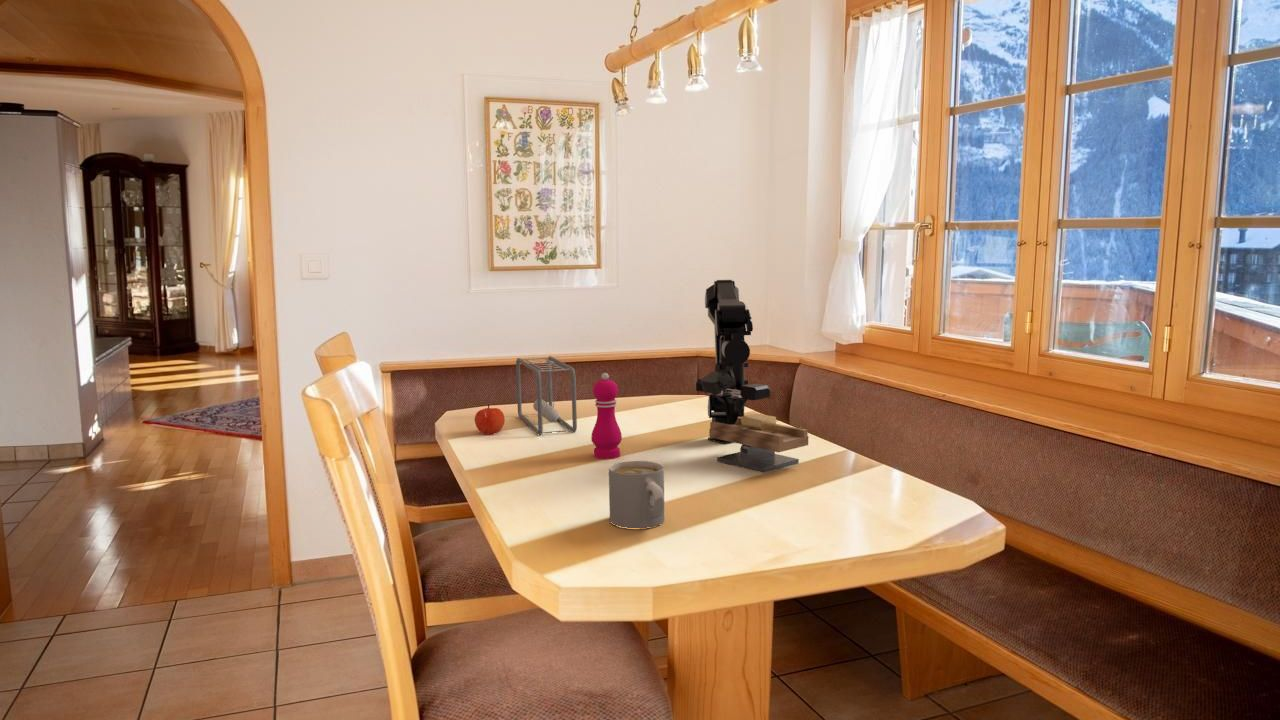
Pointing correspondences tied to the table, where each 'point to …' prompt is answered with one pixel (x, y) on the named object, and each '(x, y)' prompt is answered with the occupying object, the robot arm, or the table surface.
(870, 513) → the table surface
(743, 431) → the wooden tray
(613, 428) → the pepper mill
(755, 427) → the tan wooden block
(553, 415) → the newton's cradle
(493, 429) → the apple
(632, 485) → the coffee mug
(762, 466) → the fulcrum stand
